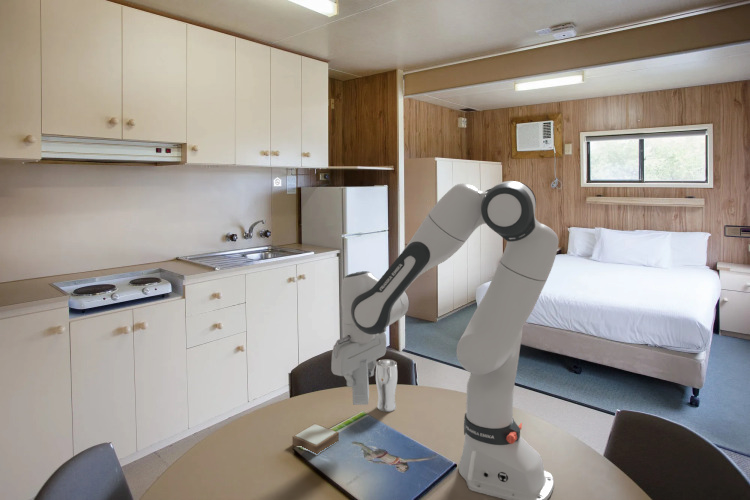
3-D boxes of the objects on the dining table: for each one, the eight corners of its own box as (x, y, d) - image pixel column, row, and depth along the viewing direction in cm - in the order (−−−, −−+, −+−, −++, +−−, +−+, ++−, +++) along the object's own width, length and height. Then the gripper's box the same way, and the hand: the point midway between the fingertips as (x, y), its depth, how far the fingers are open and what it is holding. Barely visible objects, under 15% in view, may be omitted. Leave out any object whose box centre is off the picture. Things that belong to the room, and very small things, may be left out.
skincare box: (354, 395, 131) (352, 354, 130) (369, 395, 131) (368, 354, 130) (352, 405, 125) (350, 361, 124) (368, 405, 125) (367, 361, 124)
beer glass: (397, 403, 154) (398, 359, 152) (396, 413, 147) (396, 367, 145) (376, 402, 155) (376, 358, 153) (374, 412, 148) (374, 366, 146)
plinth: (338, 442, 131) (338, 432, 131) (316, 457, 124) (316, 446, 124) (315, 433, 136) (314, 422, 136) (292, 446, 129) (292, 435, 129)
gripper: (343, 343, 116) (345, 397, 117) (389, 324, 132) (391, 371, 134) (324, 339, 119) (326, 391, 121) (371, 321, 136) (373, 367, 137)
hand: (360, 380), depth 127 cm, fingers closed on skincare box, 7 cm apart
